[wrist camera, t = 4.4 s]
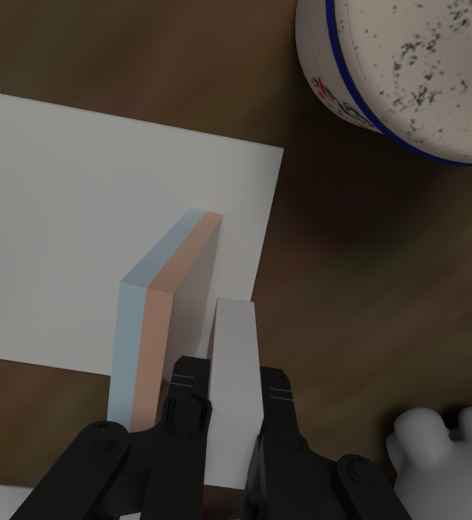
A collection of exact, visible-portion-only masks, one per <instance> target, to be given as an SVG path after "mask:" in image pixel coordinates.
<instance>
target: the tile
mask: <svg viewBox="0 0 472 520" xmlns="http://www.w3.org/2000/svg"><path fill="white" fill-rule="evenodd" d="M222 217H223V215H222V214H217V213H212V212H208V211H203V210H199V209H194V208H190V209H189V210H188V211H187V212H186V213H185V214H184V215H183V216H182V217H181V218H180V219H179V220H178V221H177V222H176V223H175V225H174V226H173V227H172V228H171V229H170V230H169V231H168V232H167V233H166V234H165V235H164V236H163V237H162V238H161V239H160V240H159V241H158V242H157V243H156V244H155V246H154V247H153V248H152V249H151V250H150V251H149V252H148V253H147V254H146V255H145V256H144V257H143V258H142V259H141V260H140V261H139V262H138V263H137V264H136V265H135V267H134V268H133V269H132V270H131V271H130V272H129V273H128V274H127V275H126V276H125V277H124V278H123V279H122V280H121V281H120V285H119V296H118V306H117V317H116V328H115V339H114V349H113V360H112V371H111V382H110V392H109V403H108V414H107V421H113V422H117V423H119V424H121V425H123V426H124V427H125V428H126V429H127V430H128V432H129V433H132V432H140V431H144V430H147V429H150V428H152V427H154V426H155V425H156V424H158V423H159V421H160V420H161V415H162V409H163V402H164V400H165V398H166V396H167V395H168V391H169V386H170V381H171V377H172V372H173V368H174V363H175V362H176V361H177V360H178V359H179V358H180V357H181V356H182V355H184V356H191V357H193V356H194V354H195V351H196V349H197V346H198V344H199V341H200V339H201V333H202V328H203V322H204V317H205V311H206V306H207V300H208V294H209V289H210V283H211V278H212V272H213V267H214V261H215V256H216V250H217V245H218V239H219V233H220V228H221V222H222Z"/></svg>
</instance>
